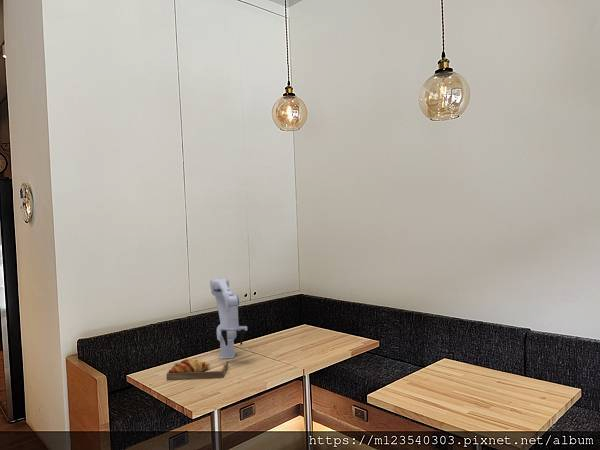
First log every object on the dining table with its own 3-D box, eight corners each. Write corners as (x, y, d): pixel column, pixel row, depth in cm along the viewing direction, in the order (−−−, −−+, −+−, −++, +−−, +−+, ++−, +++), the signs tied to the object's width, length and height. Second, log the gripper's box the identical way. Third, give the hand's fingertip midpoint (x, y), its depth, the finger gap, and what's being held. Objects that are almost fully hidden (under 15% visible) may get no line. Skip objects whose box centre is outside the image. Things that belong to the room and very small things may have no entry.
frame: (176, 369, 227) (175, 363, 227) (228, 366, 227) (228, 361, 227) (166, 380, 212) (166, 374, 212) (222, 377, 212) (222, 371, 212)
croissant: (206, 373, 228) (204, 358, 231) (215, 369, 221) (212, 353, 224) (166, 381, 215) (164, 364, 218) (174, 376, 208) (172, 359, 211)
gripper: (217, 321, 228) (218, 347, 228) (245, 319, 228) (246, 346, 228) (220, 318, 235) (221, 343, 235) (247, 316, 235) (248, 342, 235)
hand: (234, 344), depth 232 cm, fingers open, 7 cm apart
